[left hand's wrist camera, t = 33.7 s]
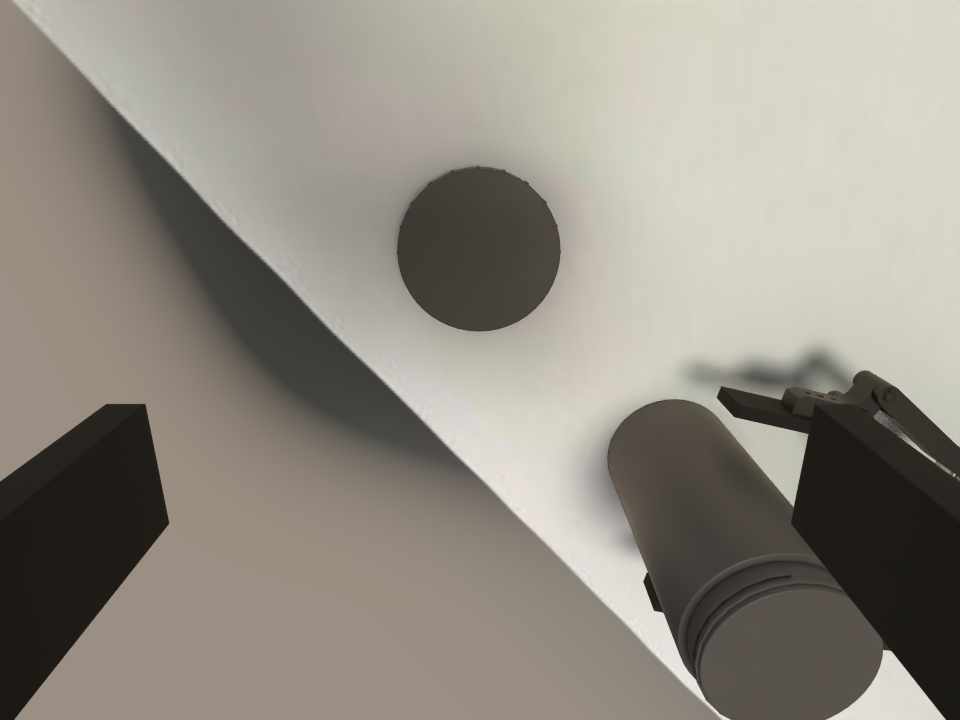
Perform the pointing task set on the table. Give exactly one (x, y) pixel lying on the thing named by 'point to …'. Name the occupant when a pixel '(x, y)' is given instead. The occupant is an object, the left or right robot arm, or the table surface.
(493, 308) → the lid
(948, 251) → the table surface
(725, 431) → the jar
